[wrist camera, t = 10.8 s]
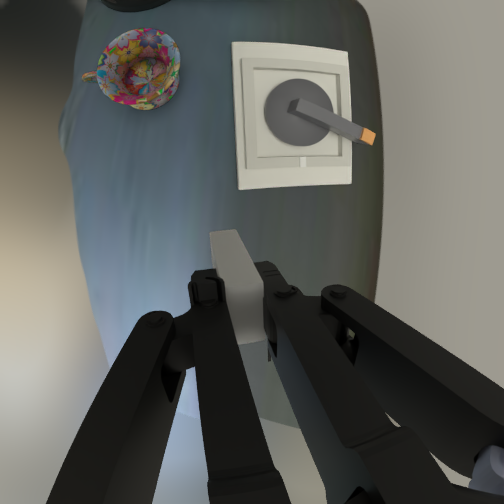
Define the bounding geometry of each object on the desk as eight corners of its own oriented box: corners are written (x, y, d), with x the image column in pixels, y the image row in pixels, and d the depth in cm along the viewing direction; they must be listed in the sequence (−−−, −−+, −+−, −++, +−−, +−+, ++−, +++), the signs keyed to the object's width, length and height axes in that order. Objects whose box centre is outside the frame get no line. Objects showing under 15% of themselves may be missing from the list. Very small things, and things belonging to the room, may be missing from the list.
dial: (254, 132, 38) (264, 131, 33) (276, 70, 35) (289, 61, 30) (344, 167, 43) (363, 171, 38) (362, 110, 40) (383, 108, 35)
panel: (231, 44, 34) (233, 38, 31) (343, 53, 37) (352, 49, 34) (238, 188, 42) (241, 191, 39) (347, 182, 45) (356, 185, 43)
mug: (183, 51, 33) (182, 24, 23) (181, 111, 36) (178, 101, 27) (102, 59, 31) (78, 38, 21) (99, 118, 34) (72, 113, 24)
